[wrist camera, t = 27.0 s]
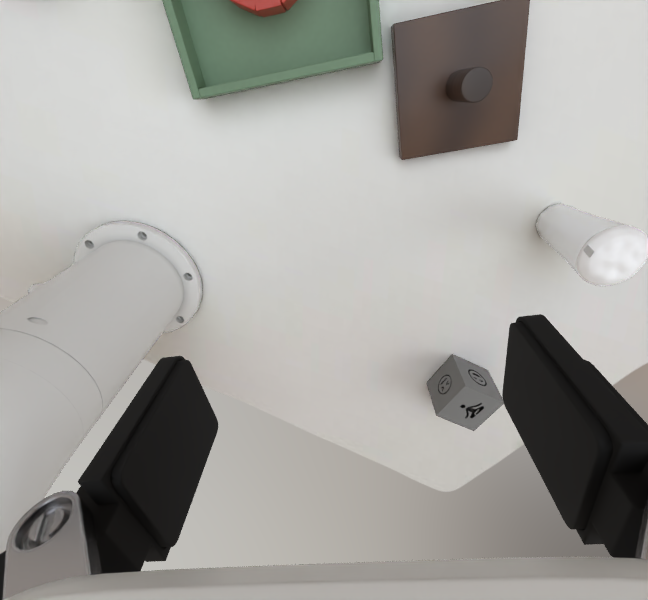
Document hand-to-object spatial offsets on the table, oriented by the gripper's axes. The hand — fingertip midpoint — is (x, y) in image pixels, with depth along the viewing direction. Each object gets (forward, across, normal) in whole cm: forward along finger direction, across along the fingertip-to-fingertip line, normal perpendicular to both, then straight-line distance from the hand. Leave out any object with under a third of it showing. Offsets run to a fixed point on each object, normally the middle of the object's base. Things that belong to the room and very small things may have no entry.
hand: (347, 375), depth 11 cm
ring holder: (+24, -10, -6) cm, 27 cm away
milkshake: (+24, -18, +6) cm, 31 cm away
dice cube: (+24, -10, +24) cm, 36 cm away
